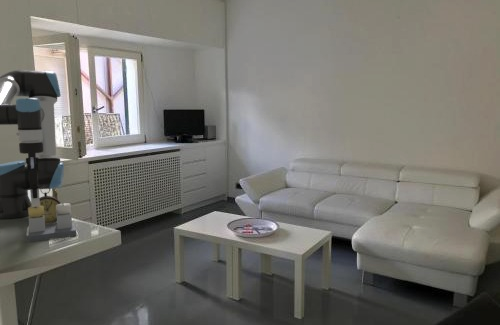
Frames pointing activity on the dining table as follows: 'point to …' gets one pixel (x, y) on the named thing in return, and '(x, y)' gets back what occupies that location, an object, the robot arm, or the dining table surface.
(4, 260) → the dining table surface
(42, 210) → the knob mustard
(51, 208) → the alarm clock
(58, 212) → the knob ivory
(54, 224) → the mount
